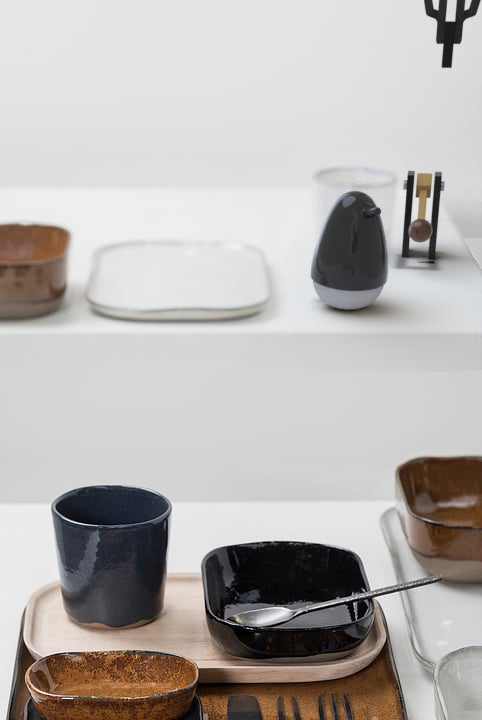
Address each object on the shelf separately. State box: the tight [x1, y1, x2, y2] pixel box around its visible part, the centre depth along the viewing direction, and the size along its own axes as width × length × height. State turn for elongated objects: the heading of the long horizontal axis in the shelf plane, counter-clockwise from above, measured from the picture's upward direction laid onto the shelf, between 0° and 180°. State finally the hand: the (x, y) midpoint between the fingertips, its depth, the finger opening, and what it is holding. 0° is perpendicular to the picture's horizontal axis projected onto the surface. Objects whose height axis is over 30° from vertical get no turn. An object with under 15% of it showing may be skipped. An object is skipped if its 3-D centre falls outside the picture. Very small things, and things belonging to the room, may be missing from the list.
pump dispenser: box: [310, 190, 389, 311], centre depth 143 cm, size 10×10×15 cm
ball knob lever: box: [409, 172, 433, 243], centre depth 160 cm, size 13×3×3 cm
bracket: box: [401, 170, 446, 265], centre depth 165 cm, size 8×6×14 cm
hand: (446, 67), depth 165 cm, fingers closed
